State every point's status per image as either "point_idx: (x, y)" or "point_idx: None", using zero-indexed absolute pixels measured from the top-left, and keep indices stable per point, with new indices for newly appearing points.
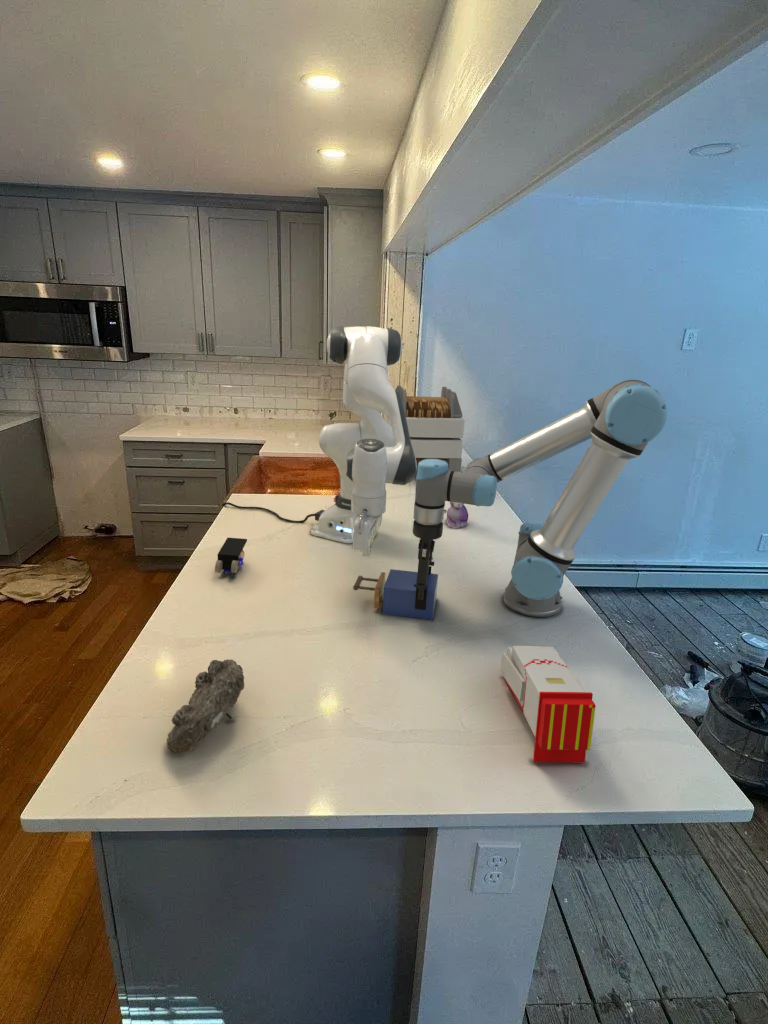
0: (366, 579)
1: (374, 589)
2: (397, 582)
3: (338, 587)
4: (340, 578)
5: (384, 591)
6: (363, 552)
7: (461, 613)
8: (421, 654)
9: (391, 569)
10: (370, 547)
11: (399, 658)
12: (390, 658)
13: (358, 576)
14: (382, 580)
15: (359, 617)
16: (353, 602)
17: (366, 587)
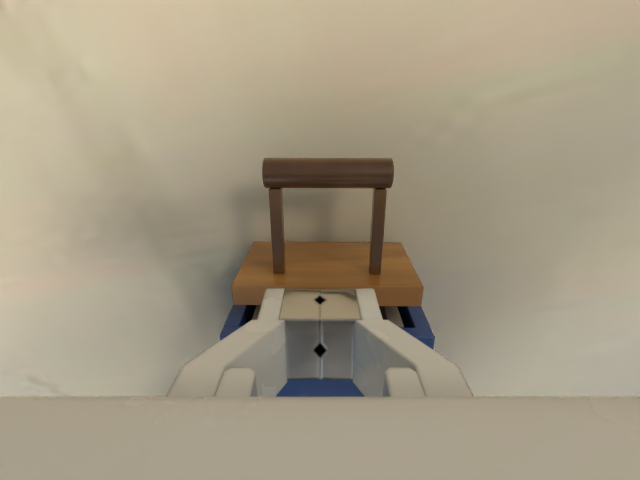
0: (372, 209)
1: (273, 265)
2: (287, 383)
3: (435, 31)
4: (541, 14)
5: (226, 324)
6: (263, 309)
7: None
8: (71, 392)
9: (429, 342)
10: (343, 376)
11: (22, 346)
12: (7, 325)
13: (385, 164)
14: None
15: (194, 192)
16: (304, 142)
17: (275, 228)
